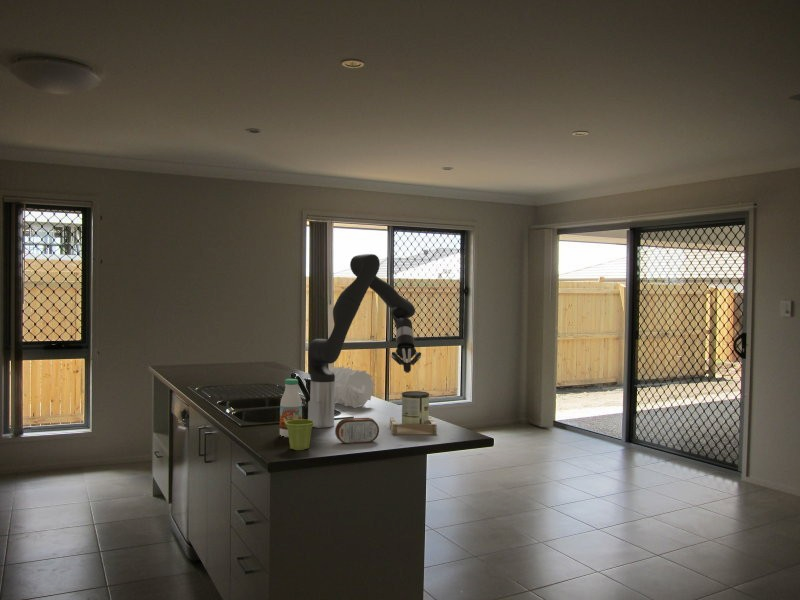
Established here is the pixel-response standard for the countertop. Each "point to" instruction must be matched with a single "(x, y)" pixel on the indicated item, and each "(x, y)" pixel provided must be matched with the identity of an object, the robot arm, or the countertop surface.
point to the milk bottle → (290, 405)
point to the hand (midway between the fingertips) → (407, 371)
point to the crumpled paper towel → (352, 386)
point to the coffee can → (415, 407)
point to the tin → (357, 430)
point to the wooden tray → (413, 428)
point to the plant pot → (299, 433)
